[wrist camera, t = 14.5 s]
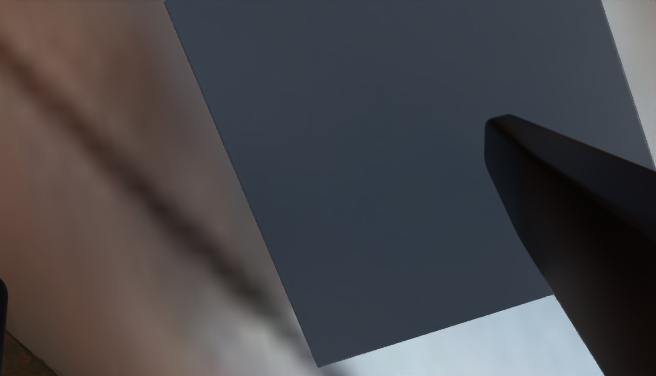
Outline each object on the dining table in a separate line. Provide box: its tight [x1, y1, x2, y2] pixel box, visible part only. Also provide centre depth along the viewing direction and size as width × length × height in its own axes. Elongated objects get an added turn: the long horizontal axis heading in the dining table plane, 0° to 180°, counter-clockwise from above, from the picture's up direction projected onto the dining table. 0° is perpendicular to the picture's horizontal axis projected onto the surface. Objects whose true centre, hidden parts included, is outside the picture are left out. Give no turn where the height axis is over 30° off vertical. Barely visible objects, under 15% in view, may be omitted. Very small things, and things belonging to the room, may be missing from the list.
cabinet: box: [164, 0, 656, 367], centre depth 18 cm, size 13×12×6 cm
